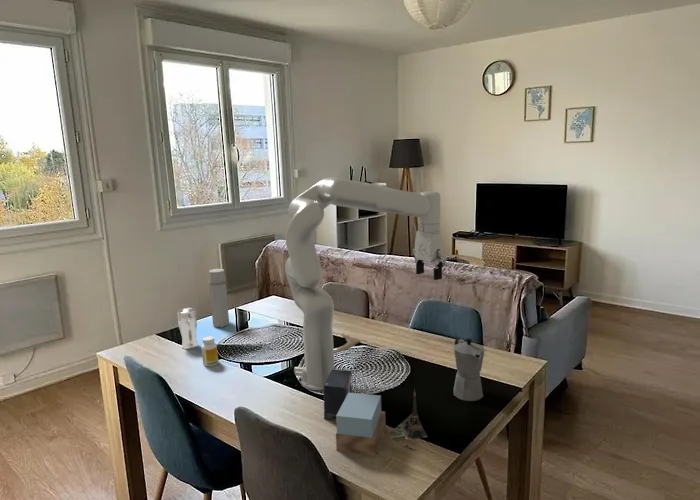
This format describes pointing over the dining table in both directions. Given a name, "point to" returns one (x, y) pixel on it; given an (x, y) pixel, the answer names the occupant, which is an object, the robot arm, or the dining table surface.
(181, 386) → the dining table surface
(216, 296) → the water bottle
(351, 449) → the walnut slab
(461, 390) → the coffeepot
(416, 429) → the eiffel tower figurine
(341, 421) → the slate-blue block
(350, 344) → the jawbone
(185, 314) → the beer glass
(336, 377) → the small box
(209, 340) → the supplement bottle
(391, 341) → the dining table surface
